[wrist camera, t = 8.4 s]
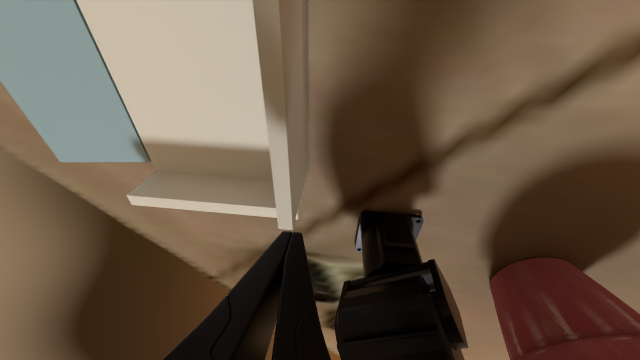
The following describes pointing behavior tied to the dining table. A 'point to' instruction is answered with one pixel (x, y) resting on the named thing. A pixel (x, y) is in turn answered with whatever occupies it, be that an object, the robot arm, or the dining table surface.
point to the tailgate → (65, 83)
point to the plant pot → (561, 314)
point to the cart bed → (213, 99)
